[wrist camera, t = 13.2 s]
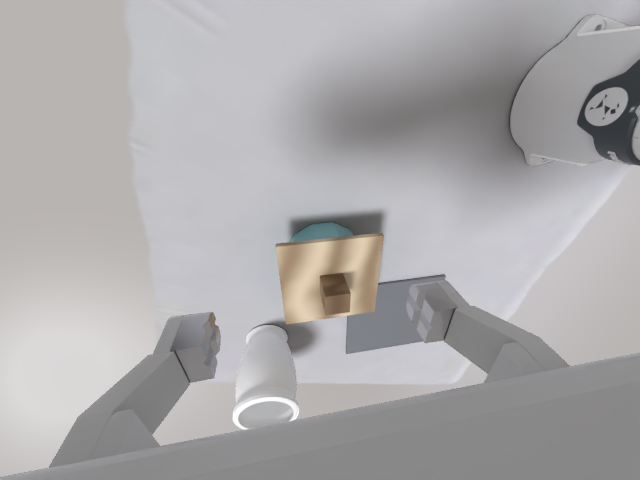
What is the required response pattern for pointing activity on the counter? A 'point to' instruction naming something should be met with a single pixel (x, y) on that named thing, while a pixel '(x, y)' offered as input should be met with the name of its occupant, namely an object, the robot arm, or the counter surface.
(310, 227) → the bowl
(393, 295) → the mat
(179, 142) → the counter surface
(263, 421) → the jar
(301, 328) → the counter surface
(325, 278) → the lid
